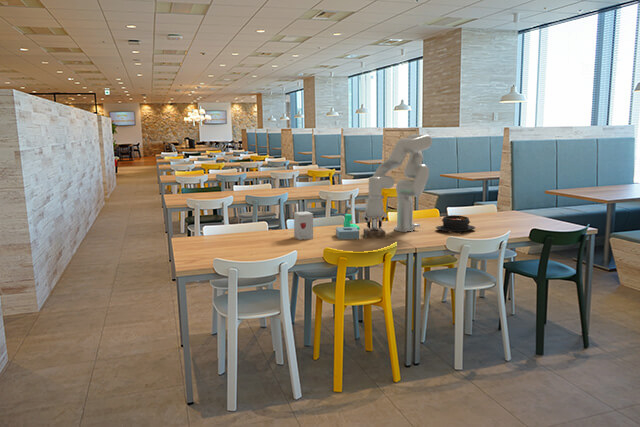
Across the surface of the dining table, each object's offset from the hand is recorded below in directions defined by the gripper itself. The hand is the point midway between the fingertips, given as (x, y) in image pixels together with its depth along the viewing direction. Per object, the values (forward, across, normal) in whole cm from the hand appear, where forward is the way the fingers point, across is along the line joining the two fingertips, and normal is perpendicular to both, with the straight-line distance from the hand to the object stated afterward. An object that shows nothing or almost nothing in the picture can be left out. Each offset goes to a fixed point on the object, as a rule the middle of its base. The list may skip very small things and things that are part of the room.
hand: (374, 227), depth 289 cm
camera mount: (+6, +11, -19) cm, 22 cm away
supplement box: (+5, +42, 0) cm, 42 cm away
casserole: (+5, -53, -9) cm, 54 cm away
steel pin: (+5, 0, 0) cm, 5 cm away
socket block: (+5, +16, 0) cm, 17 cm away
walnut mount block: (+5, 0, 0) cm, 5 cm away
